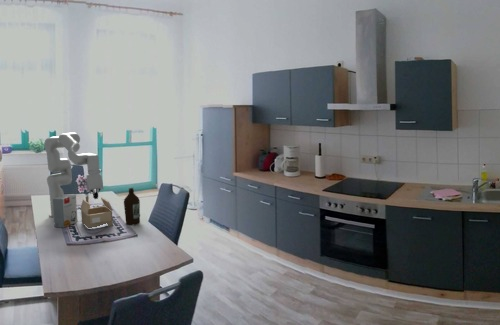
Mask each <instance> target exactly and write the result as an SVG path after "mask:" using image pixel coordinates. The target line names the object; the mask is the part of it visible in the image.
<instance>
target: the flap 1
mask: <svg viewBox="0 0 500 325" xmlns="http://www.w3.org/2000/svg"><path fill="white" fill-rule="evenodd" d="M90 206H91V204H90V203H89V202H88V201H86V200H85V199H82V202H81V205H80V208H79V210H80V212H81V211H83V212H84V213H85V214H86V215H87V214H88V211H89V208H91V207H90Z"/></svg>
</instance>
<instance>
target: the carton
mask: <svg viewBox="0 0 500 325" xmlns="http://www.w3.org/2000/svg"><path fill="white" fill-rule="evenodd" d="M80 212H81V213H80V215H81V224H82V226H84V224H85V225H86V226H87V227H88V228H92V227H97V226H100V225H103V224H106V223H107V224H108V227H113V226H114V222H113V221H114V220H113V210H112V211H111V210H110V209H108V208H107V207H105V206H104V205H101V206H95V207H90V208H89V211H88V214H87V215H86V214H85V213H84V212H83V211H81V210H80Z"/></svg>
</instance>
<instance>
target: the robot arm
mask: <svg viewBox="0 0 500 325" xmlns="http://www.w3.org/2000/svg"><path fill="white" fill-rule="evenodd" d="M80 142H81V137H80V135H79V134H78V133H77V132H66V133H61V134H59V135H58V136H50V137H47V138H46V139H45V140H44V142H43V143H44V145H43V146H44V150H45V152H46V159H47V169H48V171H49V172H51V173H52V174H50V175H48V176H47V178H46V183H47V186H48V191H49V202H50V213H49V214H48V216H49V218H50V217H51V218H54V211H53V199H54V198H57V197H60V196H63V195H65V194H64V189H63V188H62V187H61V186H66V185H70V184H72V181H73V174H72V172H73V171H72V164H71V162H72V163H73V165H75V166H85V165H87V174H86V184H85V185H86V192H91V193H92V196H93V197H92V198H93V199H94V200H97V199H98V198H99V192H100V191H102V190H104V181H103V176H102V174H101V172H103V170H102V169H100V159H99V158H100V157H99V154H98V153H91V152H87V153H80V154H79V153H78V151H80V147H81V145H80V144H79V143H80ZM63 148H65V149H66V150H67V158H66V157H64V158H63V157H62V158H61V153H60V152H59V150H58V149H63ZM77 153H78V154H77ZM70 161H71V162H70ZM98 200H99V199H98Z"/></svg>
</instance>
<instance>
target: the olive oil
mask: <svg viewBox="0 0 500 325" xmlns="http://www.w3.org/2000/svg"><path fill="white" fill-rule="evenodd" d="M134 192H135V190H134V187H129V188H128V194H127V195H126V196H125V198H124V200H123V208H124V216H125V224H126V225H128V226H136V225H138V224H140V223H141V212H140V211H141V209H140V208H141V207H140V206H141V204H140V203H141V202H140V198H139V197H138V195H136V194H135V193H134Z"/></svg>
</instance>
